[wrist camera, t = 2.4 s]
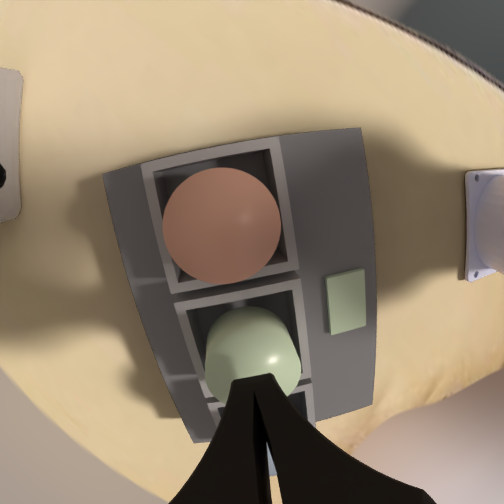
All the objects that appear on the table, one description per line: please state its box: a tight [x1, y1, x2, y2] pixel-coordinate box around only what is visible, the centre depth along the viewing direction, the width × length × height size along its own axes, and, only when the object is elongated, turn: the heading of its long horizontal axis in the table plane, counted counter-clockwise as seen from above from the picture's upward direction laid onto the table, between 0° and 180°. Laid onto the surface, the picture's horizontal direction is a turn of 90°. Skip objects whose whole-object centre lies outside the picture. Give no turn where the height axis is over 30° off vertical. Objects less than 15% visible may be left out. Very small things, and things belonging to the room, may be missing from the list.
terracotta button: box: [163, 168, 281, 284], centre depth 10 cm, size 4×4×2 cm
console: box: [103, 128, 377, 443], centre depth 15 cm, size 12×17×4 cm
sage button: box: [205, 306, 301, 404], centre depth 12 cm, size 4×4×2 cm
